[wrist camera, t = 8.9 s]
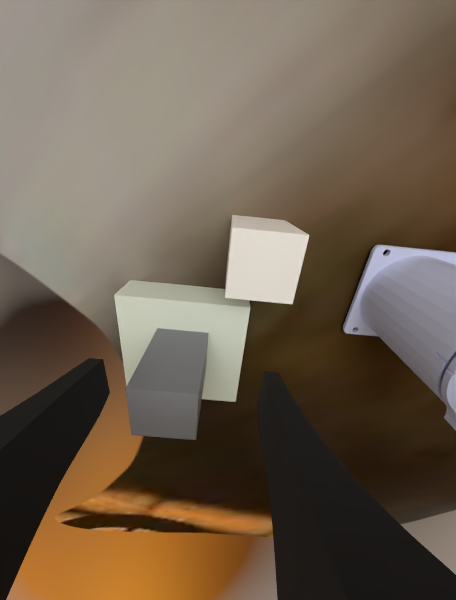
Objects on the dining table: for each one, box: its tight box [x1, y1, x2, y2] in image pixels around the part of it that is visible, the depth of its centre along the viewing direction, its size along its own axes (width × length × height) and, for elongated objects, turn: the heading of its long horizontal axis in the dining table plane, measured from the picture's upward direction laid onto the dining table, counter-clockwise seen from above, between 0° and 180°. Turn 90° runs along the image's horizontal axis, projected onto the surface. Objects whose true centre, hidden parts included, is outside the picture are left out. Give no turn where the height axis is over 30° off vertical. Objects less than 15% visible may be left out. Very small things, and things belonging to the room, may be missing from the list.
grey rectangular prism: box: [126, 328, 209, 440], centre depth 16 cm, size 4×4×6 cm
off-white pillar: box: [225, 215, 309, 304], centre depth 15 cm, size 4×4×6 cm
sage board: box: [114, 280, 250, 402], centre depth 20 cm, size 10×10×3 cm
